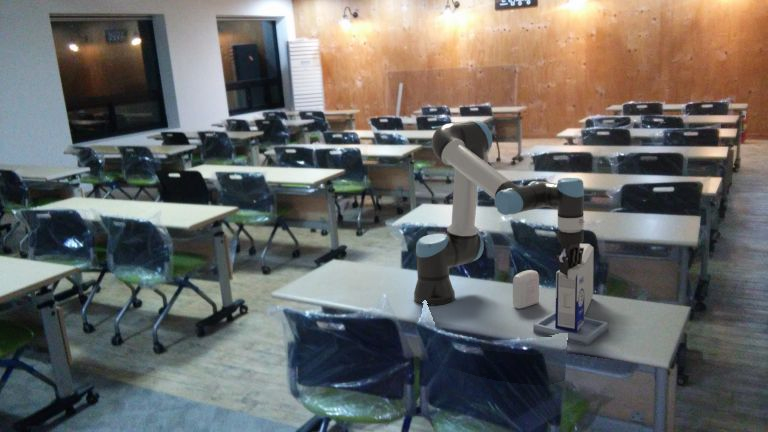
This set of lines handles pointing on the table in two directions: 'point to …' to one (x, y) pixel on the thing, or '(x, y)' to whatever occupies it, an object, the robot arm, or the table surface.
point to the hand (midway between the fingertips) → (570, 303)
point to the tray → (583, 336)
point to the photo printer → (525, 289)
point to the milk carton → (570, 299)
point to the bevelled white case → (588, 273)
